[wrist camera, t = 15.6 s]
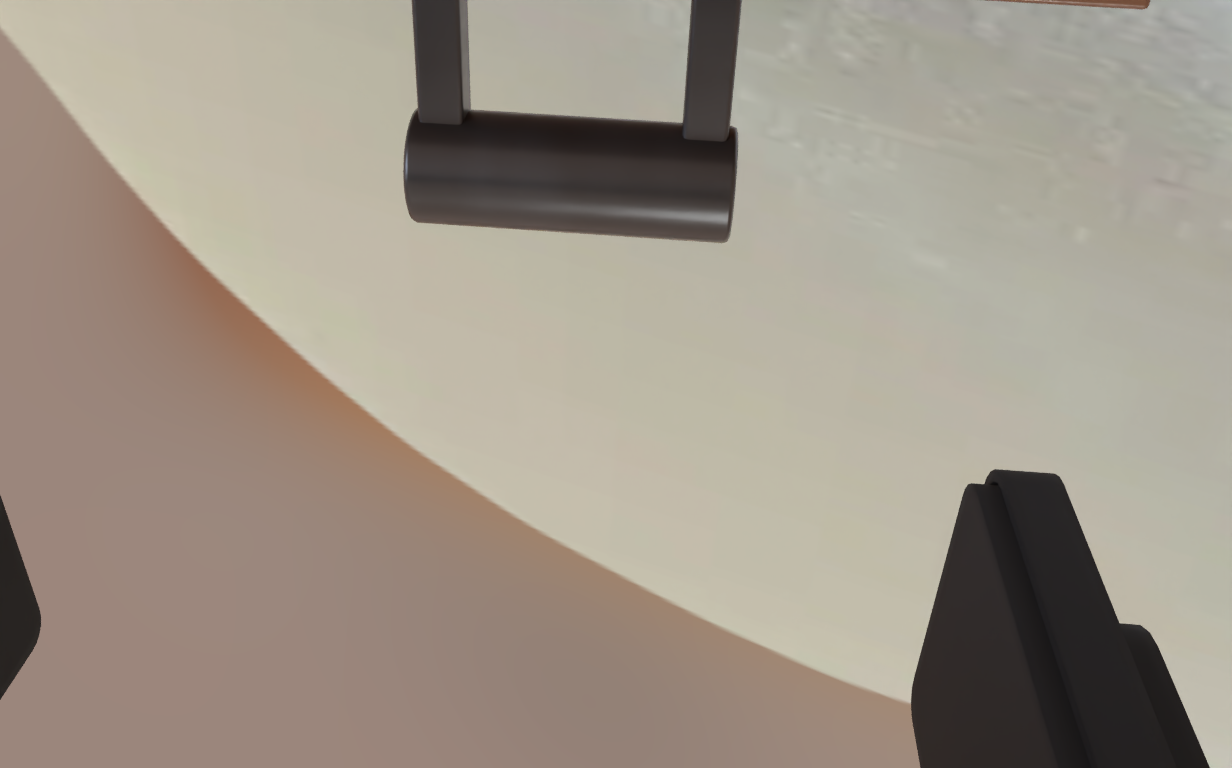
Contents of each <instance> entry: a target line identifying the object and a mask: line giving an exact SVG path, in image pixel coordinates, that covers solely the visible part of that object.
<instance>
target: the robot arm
mask: <svg viewBox="0 0 1232 768" xmlns="http://www.w3.org/2000/svg"><path fill="white" fill-rule="evenodd" d="M40 627H41V615H40V610H39V607H38V604H37V601H36V598H35V595H34V592H33V589H32V586H31V583H30V580H29V577H28V574H27V572H26V569H25V566H24V563H23V560H22V557H21V554H20V551H19V548H18V546H17V542H16V540H15V537H14V534H13V531H12V528H11V525H10V522H9V519H8V516H7V513H6V510H5V507H4V505H3V502H2V499H1V496H0V699H1V698H2V696H3V695H4V693H5V692H6V690H7V688H8V687H9V685H10V684H11V683H12V681H13V680H14V678H15V676H16V675H17V673H18V672H19V670H20V669H21V667H22V666H23V664H24V663H25V661H26V660H27V658H28V657H29V655H30V654H31V652H32V651H33V649H34V647H35V645H36V643H37V640H38V637H39V633H40ZM911 710H912V721H913V727H914V733H915V739H916V744H917V750H918V756H919V761H920V767H921V768H1210V767H1209V765H1208V763H1207V760H1206V758H1205V756H1204V753H1203V751H1202V748H1201V746H1200V744H1199V741H1198V739H1197V737H1196V734H1195V732H1194V730H1193V727H1192V725H1191V723H1190V720H1189V718H1188V716H1187V713H1186V711H1185V709H1184V706H1183V704H1182V702H1181V699H1180V697H1179V695H1178V692H1177V690H1176V688H1175V685H1174V683H1173V681H1172V678H1171V676H1170V674H1169V671H1168V669H1167V667H1166V664H1165V662H1164V660H1163V657H1162V655H1161V653H1160V650H1159V648H1158V646H1157V644H1156V643H1155V641H1154V639H1153V637H1152V636H1151V634H1150V632H1148V631H1147V630H1146V629H1145V628H1143V627H1142V626H1141V625H1133V624H1120V623H1119V621H1118V619H1117V616H1116V614H1115V611H1114V609H1113V606H1112V604H1111V601H1110V599H1109V596H1108V594H1107V591H1106V589H1105V586H1104V584H1103V581H1102V579H1101V576H1100V574H1099V571H1098V569H1097V566H1096V564H1095V561H1094V559H1093V556H1092V554H1091V551H1090V549H1089V546H1088V544H1087V541H1086V539H1085V536H1084V534H1083V531H1082V529H1081V526H1080V524H1079V521H1078V519H1077V516H1076V514H1075V511H1074V509H1073V506H1072V504H1071V501H1070V499H1069V496H1068V494H1067V491H1066V489H1065V486H1064V484H1063V482H1062V480H1061V479H1060V477H1059V476H1057V475H1056V474H1051V473H1038V472H1024V471H1010V470H996V469H995V470H993V471H991V472H990V474H989V475H988V476H987V479H986V481H985V484H972V483H971V484H968V486H967V487H966V489H965V491H964V494H963V497H962V501H961V504H960V508H959V512H958V516H957V519H956V523H955V527H954V531H953V534H952V538H951V542H950V546H949V549H948V553H947V557H946V561H945V564H944V568H943V572H942V576H941V579H940V583H939V587H938V591H937V594H936V598H935V602H934V606H933V609H932V613H931V617H930V621H929V624H928V628H927V632H926V636H925V639H924V643H923V647H922V651H921V654H920V658H919V662H918V666H917V669H916V673H915V677H914V681H913V686H912V697H911Z"/></svg>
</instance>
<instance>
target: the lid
mask: <svg viewBox="0 0 1232 768" xmlns="http://www.w3.org/2000/svg"><path fill="white" fill-rule="evenodd" d="M987 1H1005V2H1022V3H1040V4H1057V5H1074V6H1092V7H1109V8H1127V9H1145V8H1147V7H1148V6H1149V3H1150V0H987ZM741 2H742V0H692V2H691V16H690V30H689V44H688V58H687V72H686V86H685V100H684V114H683V123H675V122H659V121H643V120H627V119H611V118H596V117H580V116H564V115H548V114H532V113H516V112H500V111H484V110H471V102H470V70H469V39H468V7H467V0H412V14H413V31H414V49H415V66H416V84H417V102H418V108H417V109H416V110H415V111H414V113H413V115H412V117H411V120H410V123H409V126H408V130H407V135H406V141H405V149H404V170H403V173H404V191H405V199H406V204H407V208H408V211H409V214H410V216H411V218H412V219H413V220H414V221H416V222H418V223H432V224H447V225H461V226H476V227H491V228H506V229H521V230H536V231H551V232H565V233H580V234H595V235H610V236H625V237H640V238H655V239H669V240H684V241H699V242H714V243H725V242H727V241H728V239H729V237H730V232H731V226H732V218H733V208H734V198H735V187H736V174H737V158H738V132H737V128H735V127H733V126H730V118H731V108H732V97H733V87H734V76H735V66H736V55H737V44H738V34H739V23H740V13H741Z"/></svg>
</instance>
